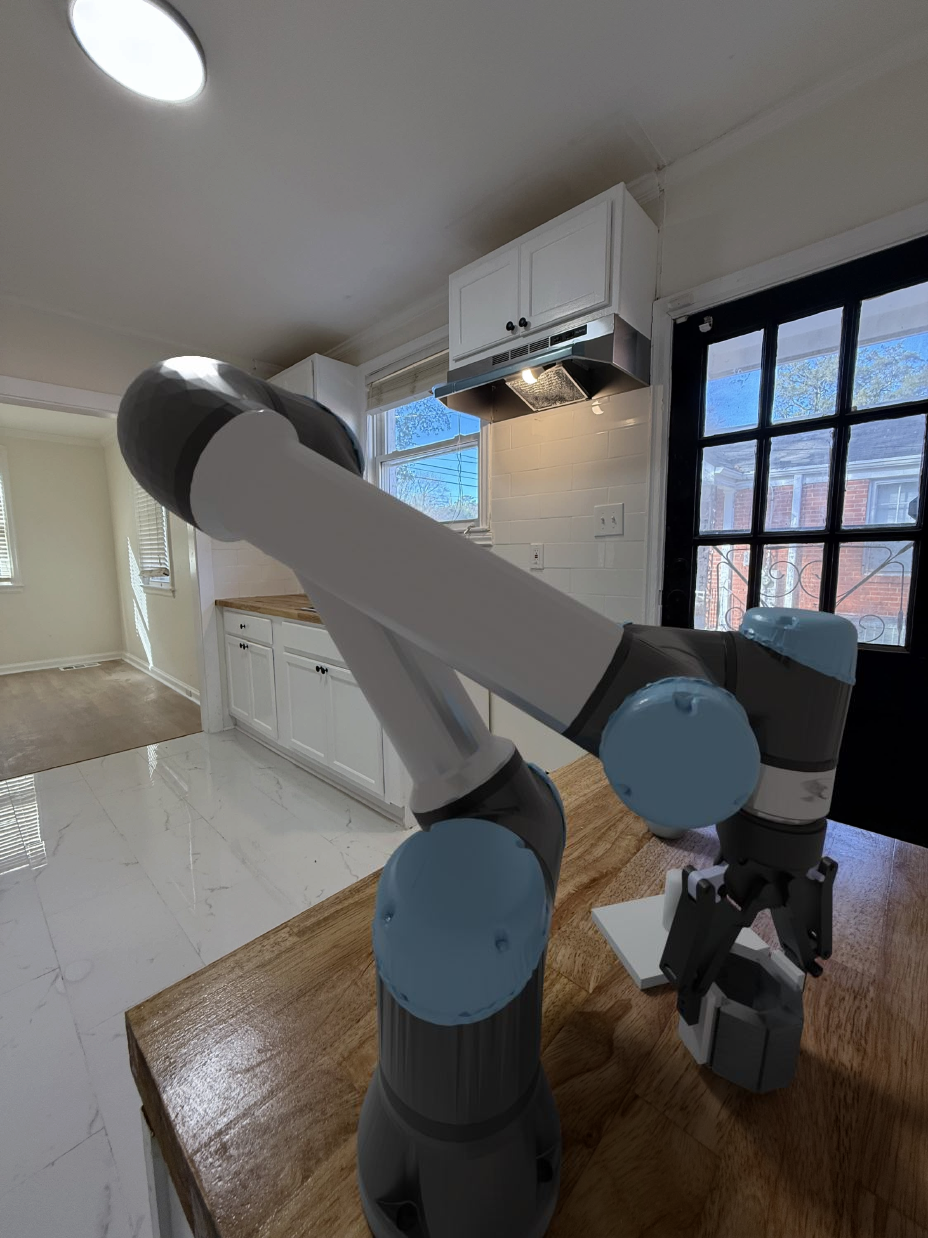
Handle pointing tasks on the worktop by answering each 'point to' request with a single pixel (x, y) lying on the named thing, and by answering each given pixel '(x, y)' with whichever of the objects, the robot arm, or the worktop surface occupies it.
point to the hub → (755, 1022)
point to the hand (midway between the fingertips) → (735, 1035)
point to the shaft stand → (650, 931)
